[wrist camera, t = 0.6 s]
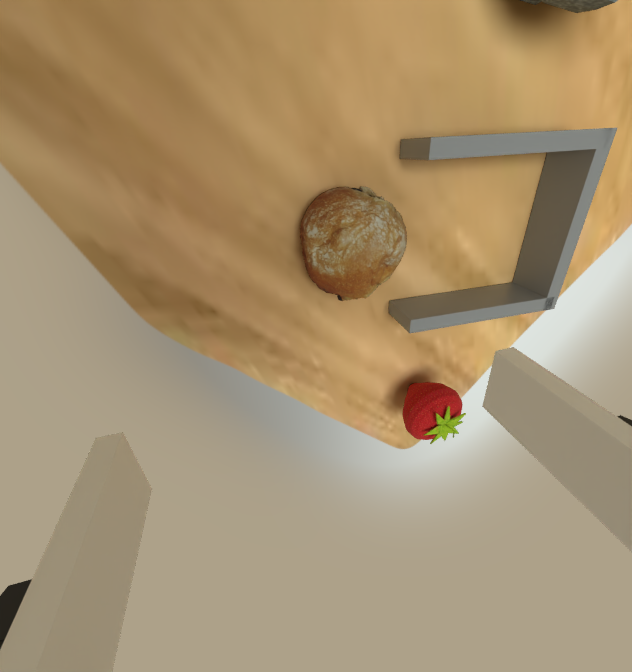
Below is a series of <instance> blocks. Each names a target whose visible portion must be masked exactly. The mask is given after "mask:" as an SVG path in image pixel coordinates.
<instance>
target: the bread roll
mask: <svg viewBox="0 0 632 672" xmlns="http://www.w3.org/2000/svg"><path fill="white" fill-rule="evenodd" d="M300 233H301V235H300V238H301V244H302V254H303V256H304V260H305V265H306V269H307V271H308V274H309V277H310V278H311V279H312V281H313V282H314V283H316V284H317V286H318V287H319V288H320V289H321V290H323V291H325V292H326V293H332V294H336V295H338V296H337V297H338V299H339V300H340V301H344V300H351V299H358V298H367V297H368V296H369V295H370V294H372V292H373V291H374V290H375V289H376V288H377V287H378V285H381V284H382V283H383V282H385V281H386V280H388V279H389V278H390V276H391V275H392V273H393V272H394V270H395V269H396V267H397V266H398V264H399V263H400V261H401V258H402V256H403V254H404V251H405V248H406V243H407V232H406V227H405V224H404V222H403V219H402V216H401V215H400V213H399V212H398V211H397V210H396V209H395V207H394V206H393V205H392V204H391V203H389V202H388V201H385V200H384V199H383V198H382V197H377V196H376V195H375V193H374V192H373V191H372V190H371V189H369V188H367V187H362V186H361V187H360V189H356V188H349V187H338V188H335V189H331V190H328V191H326V192H323V193H322V194H321V195H319V196H318V197H317V198H316V199H315V200H314V201H313V202H312V203H311V205H310V206H309V207H308V209H307V210H306V213H305V215H304V217H303V219H302V222H301V226H300Z"/></svg>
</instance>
